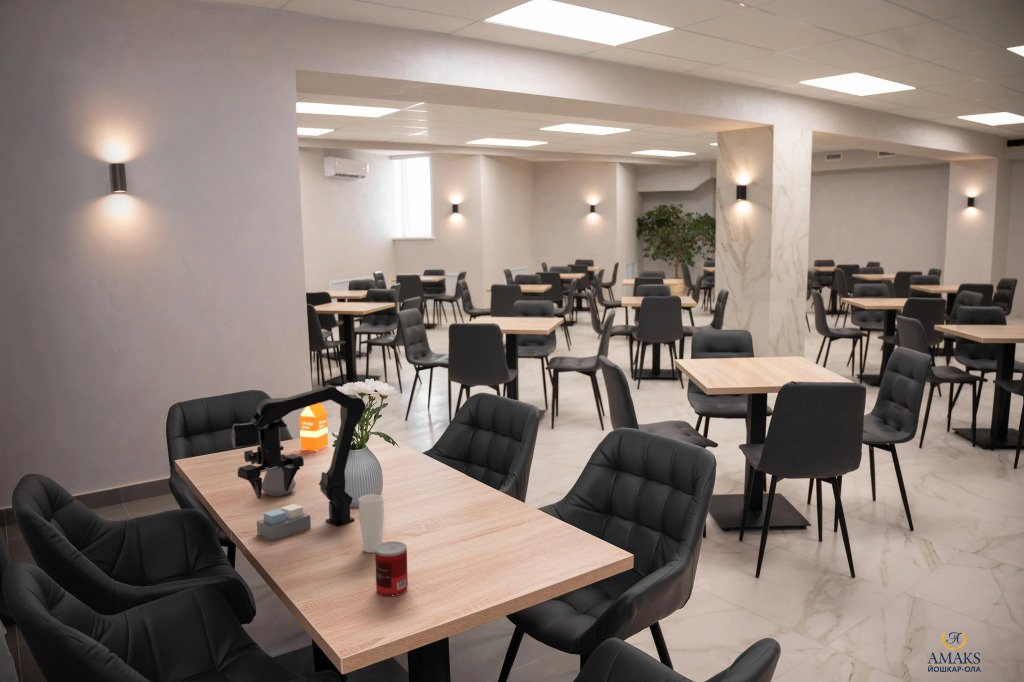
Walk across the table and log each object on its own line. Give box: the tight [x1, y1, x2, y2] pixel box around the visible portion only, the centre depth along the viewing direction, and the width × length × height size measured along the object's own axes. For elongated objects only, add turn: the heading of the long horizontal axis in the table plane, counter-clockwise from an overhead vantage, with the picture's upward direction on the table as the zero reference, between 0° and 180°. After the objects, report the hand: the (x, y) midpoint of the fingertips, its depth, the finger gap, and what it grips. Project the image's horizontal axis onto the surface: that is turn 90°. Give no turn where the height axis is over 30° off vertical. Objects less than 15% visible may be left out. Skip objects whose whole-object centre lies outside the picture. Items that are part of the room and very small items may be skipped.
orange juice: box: [299, 402, 329, 450], centre depth 317 cm, size 8×9×20 cm
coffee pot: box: [262, 453, 297, 497], centre depth 256 cm, size 21×12×15 cm, turn 30°
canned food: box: [374, 540, 409, 597], centre depth 187 cm, size 8×8×11 cm
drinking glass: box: [358, 493, 385, 554], centre depth 211 cm, size 7×7×15 cm
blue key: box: [263, 508, 286, 525], centre depth 223 cm, size 4×4×4 cm
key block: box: [256, 512, 312, 541], centre depth 226 cm, size 8×13×4 cm, turn 140°
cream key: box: [281, 503, 304, 519], centre depth 228 cm, size 4×4×4 cm
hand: (272, 494), depth 223 cm, fingers open, 9 cm apart
